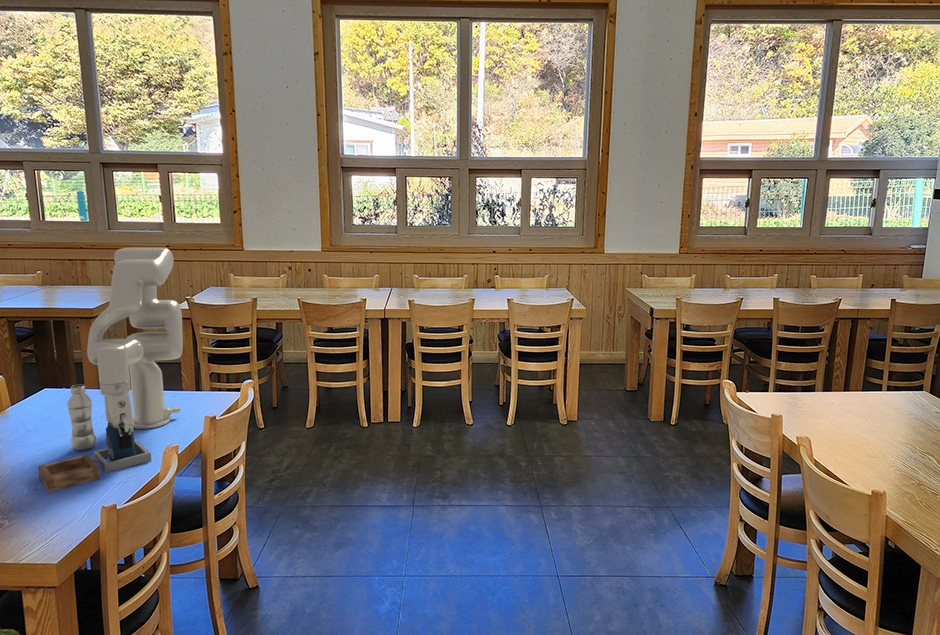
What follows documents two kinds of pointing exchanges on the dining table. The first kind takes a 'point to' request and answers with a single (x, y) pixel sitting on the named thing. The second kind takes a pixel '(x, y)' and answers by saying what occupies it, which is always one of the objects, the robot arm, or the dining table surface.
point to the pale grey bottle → (81, 419)
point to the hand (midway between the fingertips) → (120, 443)
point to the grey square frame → (122, 463)
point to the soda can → (113, 444)
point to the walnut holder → (68, 472)
